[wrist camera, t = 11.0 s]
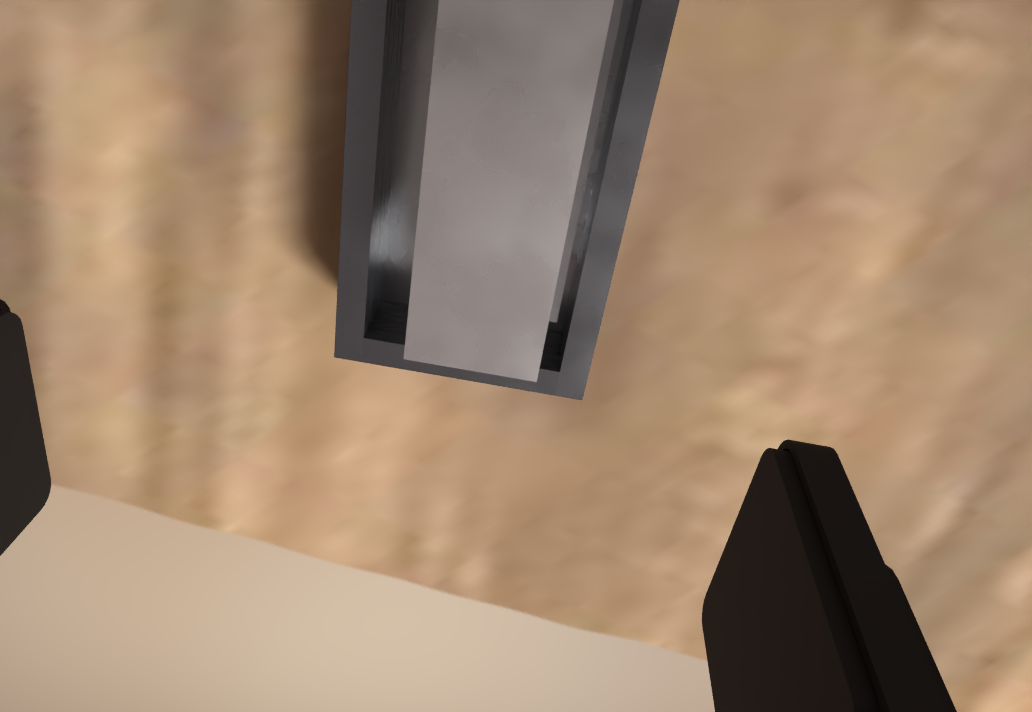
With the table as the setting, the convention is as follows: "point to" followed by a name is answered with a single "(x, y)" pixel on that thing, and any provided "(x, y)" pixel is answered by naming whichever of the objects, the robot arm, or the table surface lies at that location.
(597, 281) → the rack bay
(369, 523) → the table surface
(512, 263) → the grey rectangular block
